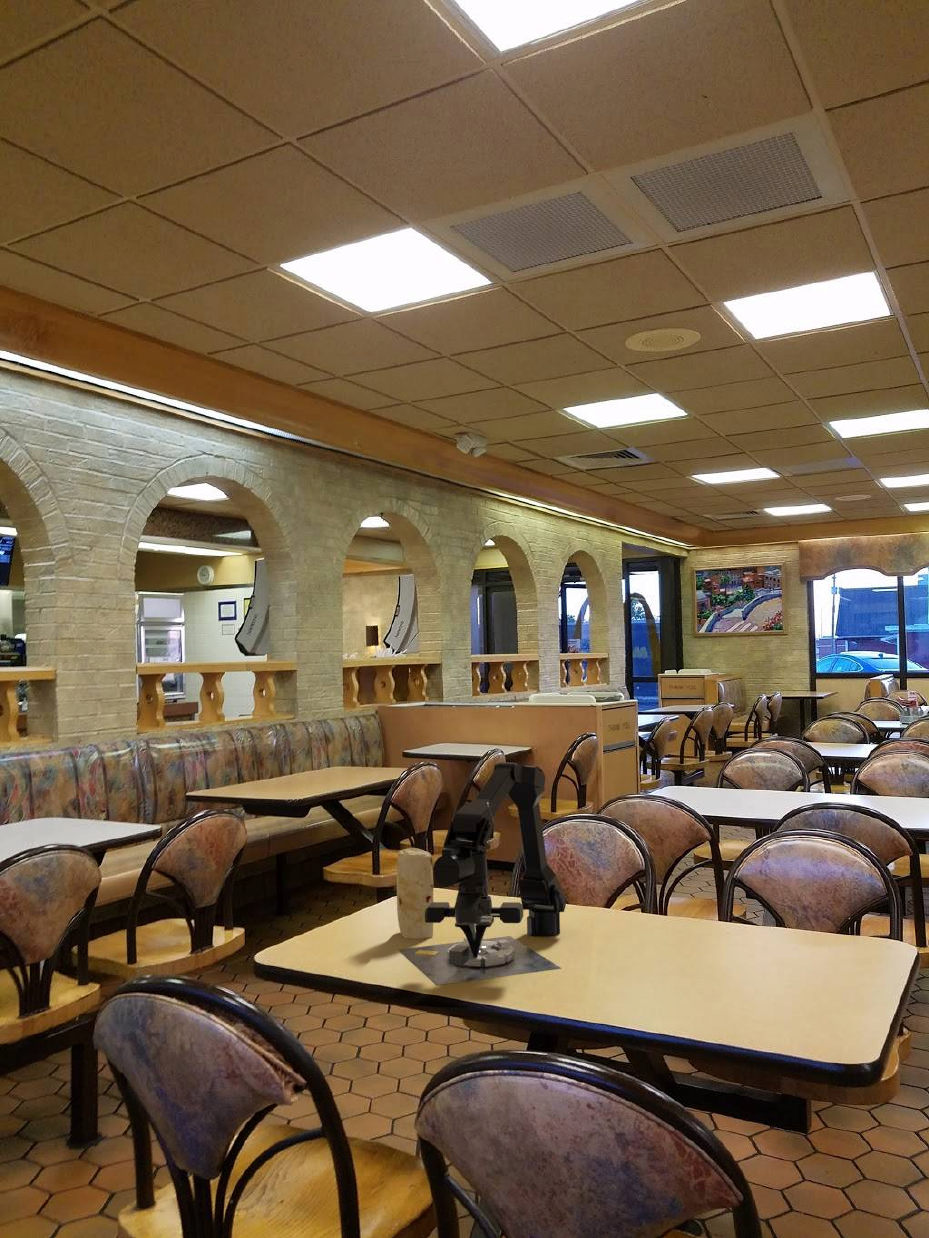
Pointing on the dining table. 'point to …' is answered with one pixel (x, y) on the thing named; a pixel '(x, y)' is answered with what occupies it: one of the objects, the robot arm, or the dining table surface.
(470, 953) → the grey ring frame
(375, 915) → the dining table surface
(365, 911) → the dining table surface
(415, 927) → the food model
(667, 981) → the dining table surface
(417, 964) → the cap plate
